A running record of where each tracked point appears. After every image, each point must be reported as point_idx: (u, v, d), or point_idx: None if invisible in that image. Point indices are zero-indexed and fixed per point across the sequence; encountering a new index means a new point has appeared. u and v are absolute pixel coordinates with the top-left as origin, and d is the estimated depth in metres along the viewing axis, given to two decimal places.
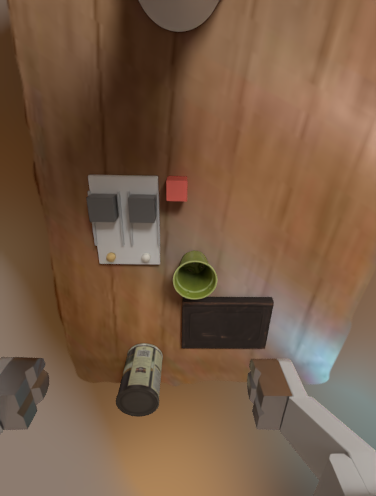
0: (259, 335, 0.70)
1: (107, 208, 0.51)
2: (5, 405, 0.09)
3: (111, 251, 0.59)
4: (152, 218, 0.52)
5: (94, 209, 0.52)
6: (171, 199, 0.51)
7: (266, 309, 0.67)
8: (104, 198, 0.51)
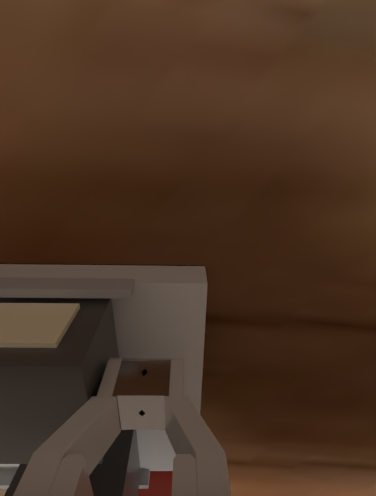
0: None
1: (35, 445, 0.09)
2: (129, 405, 0.09)
3: None
4: None
5: (6, 394, 0.08)
6: None
7: None
8: None
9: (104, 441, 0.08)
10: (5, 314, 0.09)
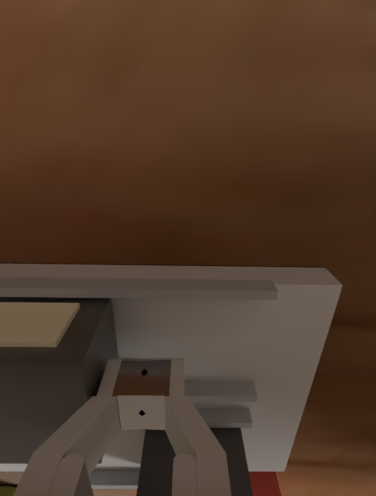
0: None
1: (34, 445, 0.09)
2: (129, 405, 0.09)
3: None
4: None
5: (6, 393, 0.08)
6: None
7: None
8: None
9: (104, 441, 0.08)
10: (5, 313, 0.09)
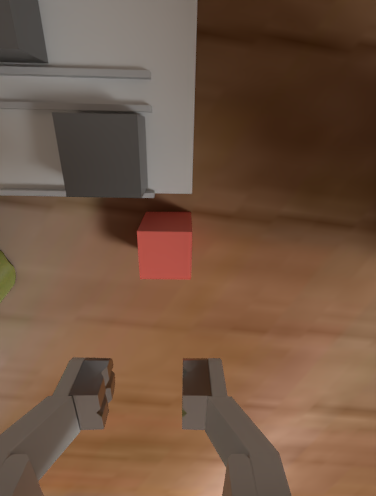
0: None
1: None
2: (86, 405, 0.09)
3: None
4: (79, 191, 0.17)
5: None
6: (142, 243, 0.19)
7: None
8: (8, 12, 0.13)
9: (60, 441, 0.08)
10: None
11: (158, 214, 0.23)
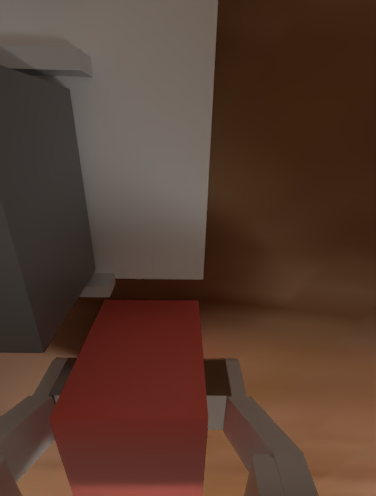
0: None
1: None
2: None
3: None
4: None
5: None
6: (68, 441, 0.07)
7: None
8: None
9: (40, 441, 0.08)
10: None
11: (128, 313, 0.10)
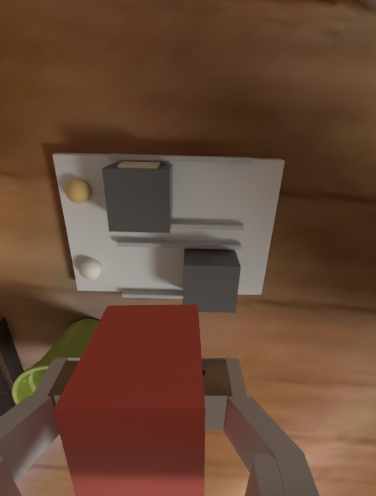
0: None
1: (142, 219, 0.21)
2: None
3: (94, 191, 0.24)
4: None
5: (137, 185, 0.20)
6: (72, 434, 0.07)
7: None
8: (167, 214, 0.21)
9: (39, 441, 0.08)
10: (129, 162, 0.21)
11: (130, 317, 0.11)
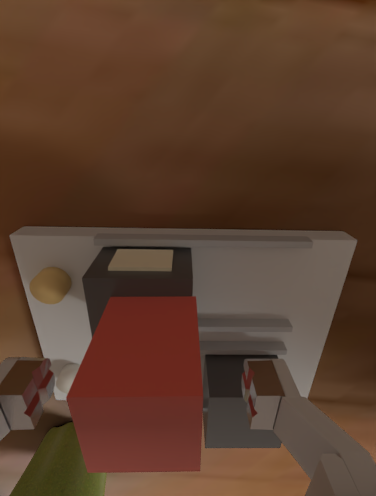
0: None
1: None
2: (12, 405, 0.09)
3: (74, 282, 0.16)
4: (220, 445, 0.17)
5: None
6: (82, 418, 0.08)
7: None
8: None
9: None
10: (127, 254, 0.14)
11: (132, 308, 0.11)
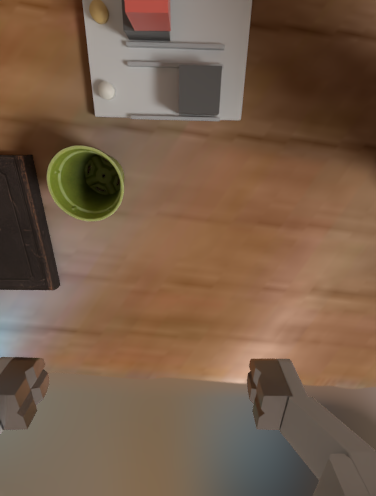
0: None
1: None
2: (5, 405, 0.09)
3: (110, 14, 0.31)
4: (186, 109, 0.32)
5: None
6: None
7: (39, 283, 0.46)
8: None
9: None
10: None
11: None
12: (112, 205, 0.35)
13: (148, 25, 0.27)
